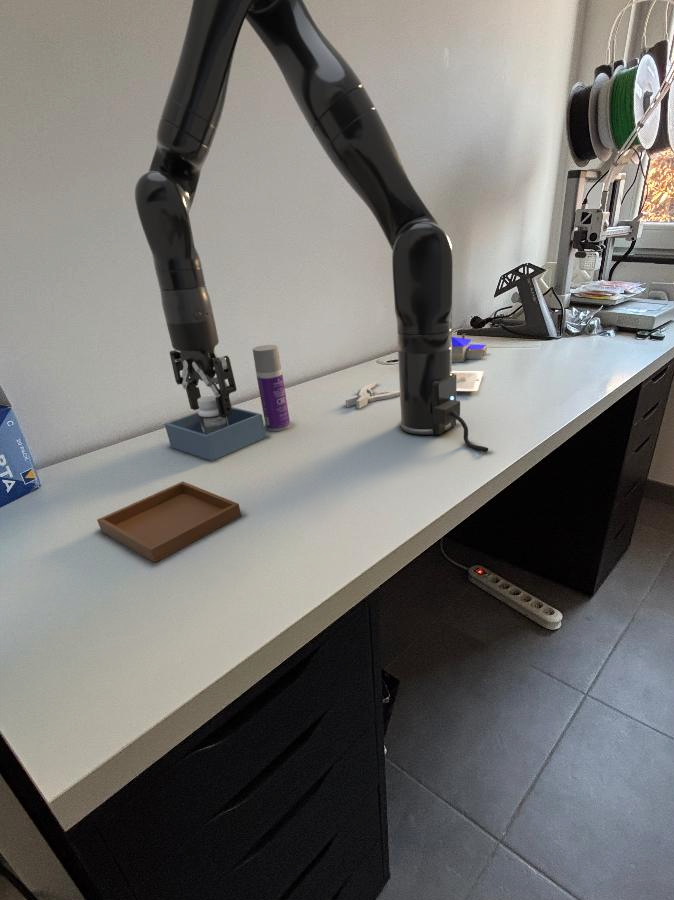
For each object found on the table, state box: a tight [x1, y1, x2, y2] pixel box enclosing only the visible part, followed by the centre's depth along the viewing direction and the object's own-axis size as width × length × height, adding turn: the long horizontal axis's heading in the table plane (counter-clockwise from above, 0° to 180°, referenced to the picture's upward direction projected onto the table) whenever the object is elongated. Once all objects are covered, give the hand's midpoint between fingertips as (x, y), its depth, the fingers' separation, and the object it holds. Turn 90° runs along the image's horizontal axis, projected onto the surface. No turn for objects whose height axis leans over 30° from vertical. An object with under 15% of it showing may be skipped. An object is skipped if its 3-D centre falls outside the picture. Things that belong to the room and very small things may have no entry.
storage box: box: [164, 406, 267, 462], centre depth 96 cm, size 12×12×4 cm
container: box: [252, 344, 291, 432], centre depth 98 cm, size 5×5×15 cm
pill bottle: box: [197, 394, 229, 435], centre depth 95 cm, size 5×5×8 cm
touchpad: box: [452, 370, 484, 392], centre depth 118 cm, size 8×15×2 cm, turn 166°
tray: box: [96, 480, 242, 563], centre depth 71 cm, size 13×13×2 cm
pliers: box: [345, 381, 400, 409], centre depth 114 cm, size 10×2×15 cm
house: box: [452, 333, 488, 363], centre depth 137 cm, size 11×14×6 cm
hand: (211, 412), depth 94 cm, fingers open, 8 cm apart
